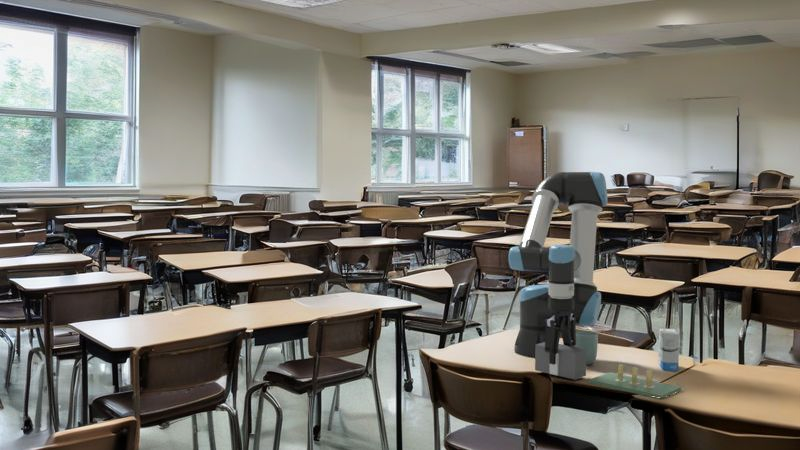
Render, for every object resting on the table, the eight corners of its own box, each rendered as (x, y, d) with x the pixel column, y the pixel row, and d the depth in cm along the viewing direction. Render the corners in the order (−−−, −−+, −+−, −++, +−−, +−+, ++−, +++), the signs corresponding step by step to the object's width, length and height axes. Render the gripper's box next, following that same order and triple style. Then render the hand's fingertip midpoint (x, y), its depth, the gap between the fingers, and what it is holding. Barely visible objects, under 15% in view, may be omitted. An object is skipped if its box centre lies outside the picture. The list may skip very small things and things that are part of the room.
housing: (535, 370, 218) (535, 344, 217) (546, 366, 222) (546, 341, 222) (575, 379, 208) (575, 352, 207) (585, 375, 212) (586, 349, 212)
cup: (601, 363, 230) (601, 333, 230) (589, 368, 225) (590, 336, 224) (579, 359, 236) (580, 329, 235) (567, 363, 230) (568, 333, 229)
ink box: (678, 371, 221) (679, 334, 220) (662, 370, 222) (663, 333, 221) (673, 364, 229) (674, 328, 229) (657, 364, 230) (658, 328, 230)
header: (589, 382, 207) (589, 364, 207) (610, 375, 216) (610, 357, 216) (661, 399, 192) (662, 379, 192) (681, 390, 200) (681, 371, 200)
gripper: (554, 302, 204) (553, 381, 206) (589, 294, 217) (587, 368, 219) (532, 299, 209) (531, 376, 211) (567, 291, 223) (566, 363, 224)
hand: (560, 372), depth 215 cm, fingers closed on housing, 6 cm apart
